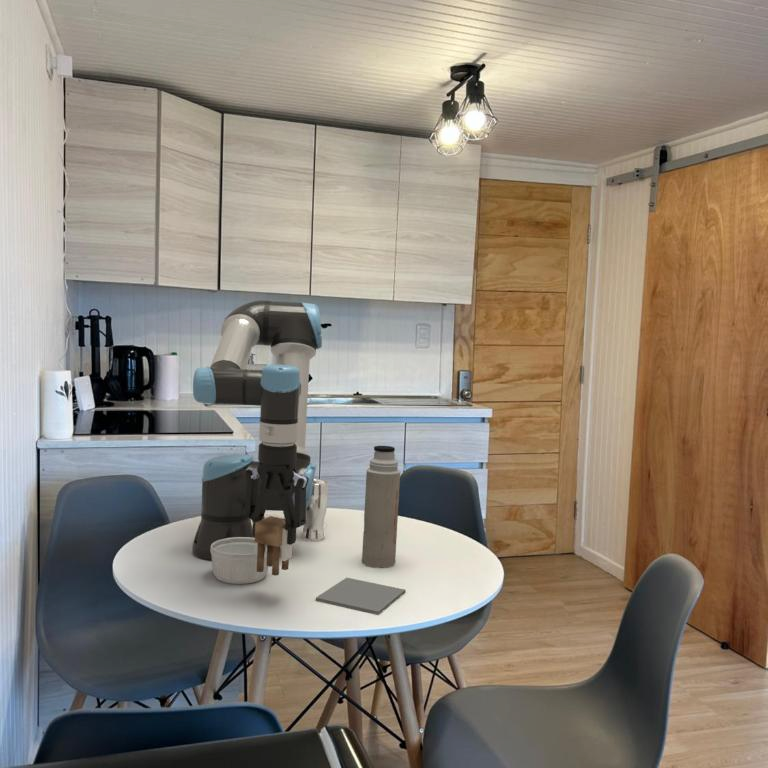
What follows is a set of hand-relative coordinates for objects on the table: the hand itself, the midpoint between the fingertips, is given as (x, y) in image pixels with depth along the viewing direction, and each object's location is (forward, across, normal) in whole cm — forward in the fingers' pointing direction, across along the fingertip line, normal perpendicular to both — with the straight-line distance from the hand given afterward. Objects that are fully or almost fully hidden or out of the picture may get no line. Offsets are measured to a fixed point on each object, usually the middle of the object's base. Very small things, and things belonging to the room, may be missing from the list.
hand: (273, 555), depth 144 cm
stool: (+3, 0, 0) cm, 3 cm away
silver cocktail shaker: (+10, -14, +41) cm, 45 cm away
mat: (+9, +15, +10) cm, 20 cm away
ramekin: (+9, -13, +7) cm, 17 cm away
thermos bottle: (+10, +9, +32) cm, 35 cm away
